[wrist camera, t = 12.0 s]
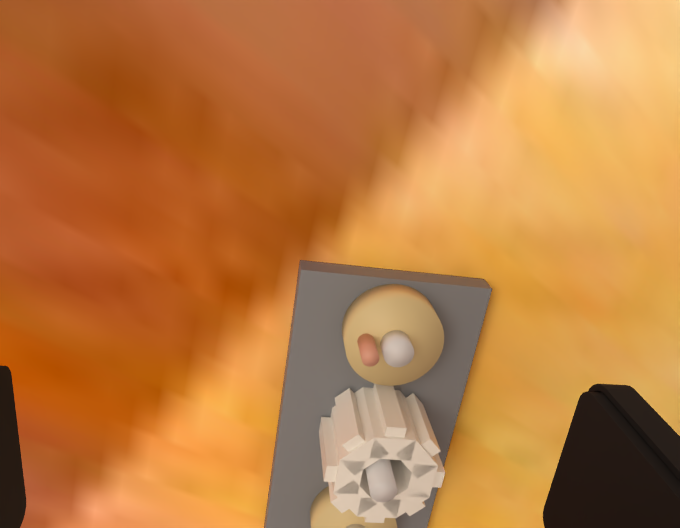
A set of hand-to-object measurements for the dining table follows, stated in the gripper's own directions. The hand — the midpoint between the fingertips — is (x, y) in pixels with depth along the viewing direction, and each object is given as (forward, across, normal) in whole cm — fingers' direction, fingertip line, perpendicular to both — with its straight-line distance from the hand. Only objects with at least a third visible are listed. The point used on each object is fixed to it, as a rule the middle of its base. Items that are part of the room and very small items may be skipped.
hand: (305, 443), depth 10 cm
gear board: (+25, -7, +18) cm, 32 cm away
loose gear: (+24, -7, +18) cm, 31 cm away
